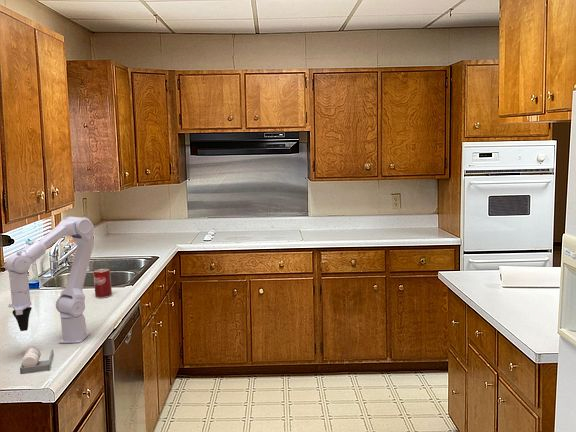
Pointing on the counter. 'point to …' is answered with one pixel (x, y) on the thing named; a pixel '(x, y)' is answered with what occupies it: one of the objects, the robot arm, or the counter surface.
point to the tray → (38, 366)
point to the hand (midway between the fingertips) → (24, 330)
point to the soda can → (102, 283)
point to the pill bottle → (31, 357)
